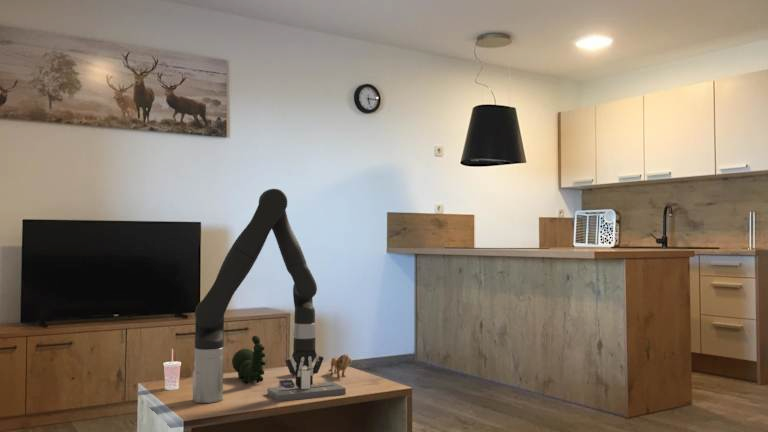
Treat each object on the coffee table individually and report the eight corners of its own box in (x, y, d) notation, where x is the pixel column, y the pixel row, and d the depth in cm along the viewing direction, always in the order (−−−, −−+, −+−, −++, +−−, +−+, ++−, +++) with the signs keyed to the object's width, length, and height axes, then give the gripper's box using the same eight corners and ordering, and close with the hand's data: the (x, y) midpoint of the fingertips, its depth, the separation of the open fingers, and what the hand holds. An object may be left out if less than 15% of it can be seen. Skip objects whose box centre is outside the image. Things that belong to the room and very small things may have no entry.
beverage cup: (182, 389, 235) (183, 349, 236) (165, 391, 232) (165, 350, 232) (178, 385, 240) (179, 346, 241) (161, 387, 237) (161, 348, 238)
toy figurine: (270, 389, 242) (249, 371, 264) (273, 338, 241) (251, 324, 263) (245, 392, 237) (226, 373, 259) (247, 340, 236) (228, 325, 258)
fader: (301, 394, 225) (301, 371, 226) (297, 392, 229) (298, 369, 229) (310, 393, 227) (310, 370, 227) (306, 391, 230) (306, 368, 230)
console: (278, 401, 217) (278, 395, 217) (267, 393, 228) (267, 387, 228) (345, 394, 228) (345, 388, 228) (332, 387, 239) (332, 381, 239)
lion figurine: (354, 378, 255) (354, 354, 255) (342, 379, 252) (342, 355, 252) (333, 371, 267) (333, 349, 267) (322, 373, 264) (322, 350, 264)
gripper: (288, 338, 222) (287, 391, 221) (327, 336, 228) (327, 387, 228) (281, 335, 229) (280, 386, 228) (319, 333, 235) (319, 382, 234)
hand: (304, 386), depth 228 cm, fingers closed on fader, 3 cm apart
